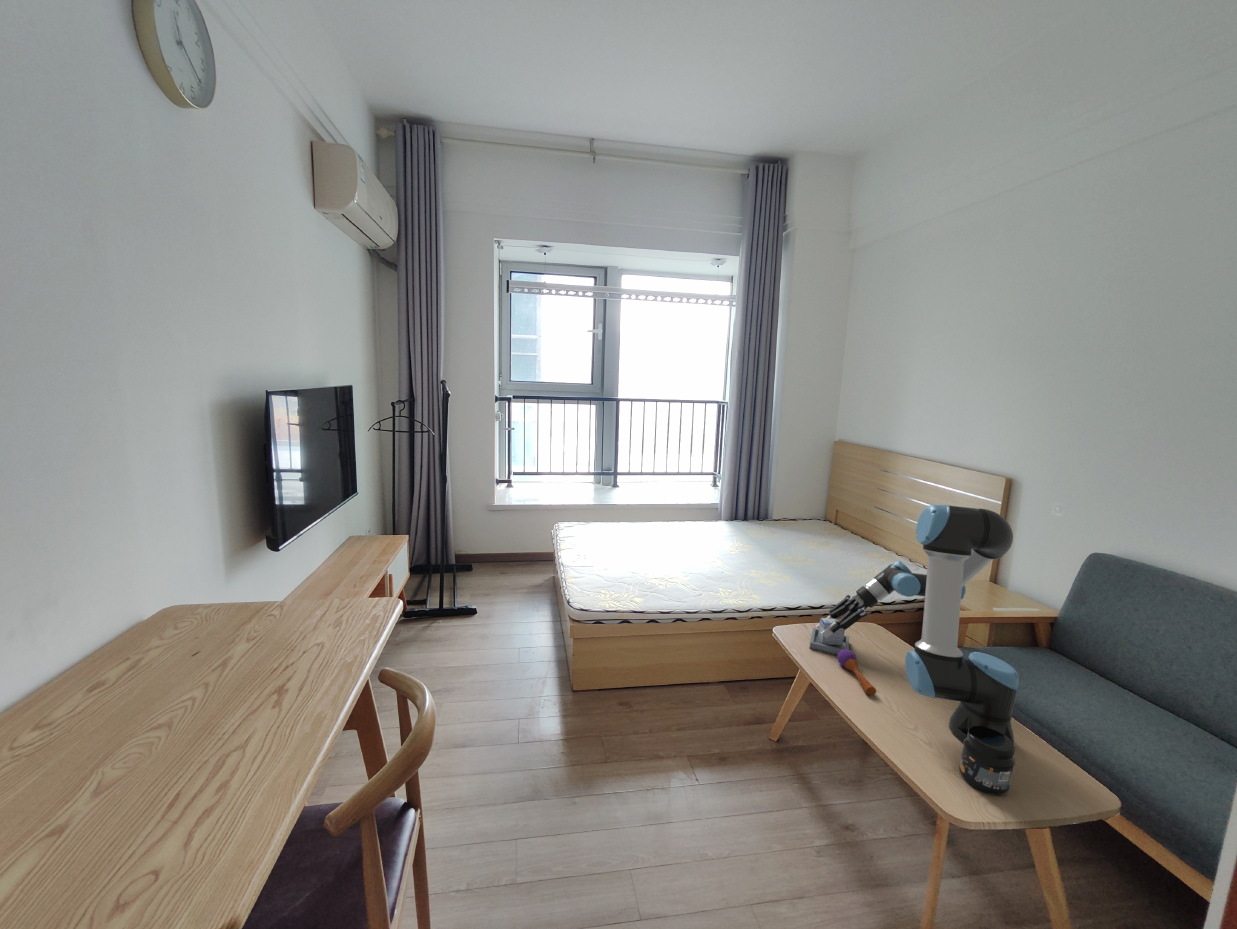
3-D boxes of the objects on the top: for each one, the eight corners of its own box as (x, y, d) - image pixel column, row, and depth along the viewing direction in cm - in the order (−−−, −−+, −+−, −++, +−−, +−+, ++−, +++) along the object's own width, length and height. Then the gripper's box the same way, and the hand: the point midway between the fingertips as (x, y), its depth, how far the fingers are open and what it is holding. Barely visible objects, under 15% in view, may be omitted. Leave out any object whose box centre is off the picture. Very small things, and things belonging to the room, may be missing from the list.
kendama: (861, 684, 162) (834, 647, 181) (861, 700, 163) (834, 661, 183) (880, 682, 162) (851, 644, 181) (880, 698, 163) (851, 659, 183)
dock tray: (847, 658, 184) (848, 651, 184) (809, 648, 190) (810, 642, 189) (848, 642, 196) (849, 636, 196) (812, 633, 201) (813, 627, 201)
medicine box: (838, 639, 195) (841, 618, 193) (842, 646, 190) (846, 624, 189) (817, 638, 195) (820, 617, 193) (821, 644, 190) (824, 622, 189)
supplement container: (962, 759, 136) (970, 718, 134) (1011, 781, 129) (1020, 739, 127) (953, 779, 129) (961, 736, 127) (1005, 805, 122) (1015, 760, 120)
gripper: (889, 611, 181) (836, 651, 184) (867, 591, 198) (818, 628, 201) (876, 596, 180) (823, 636, 183) (855, 577, 197) (806, 614, 200)
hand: (821, 632), depth 192 cm, fingers closed on medicine box, 4 cm apart
